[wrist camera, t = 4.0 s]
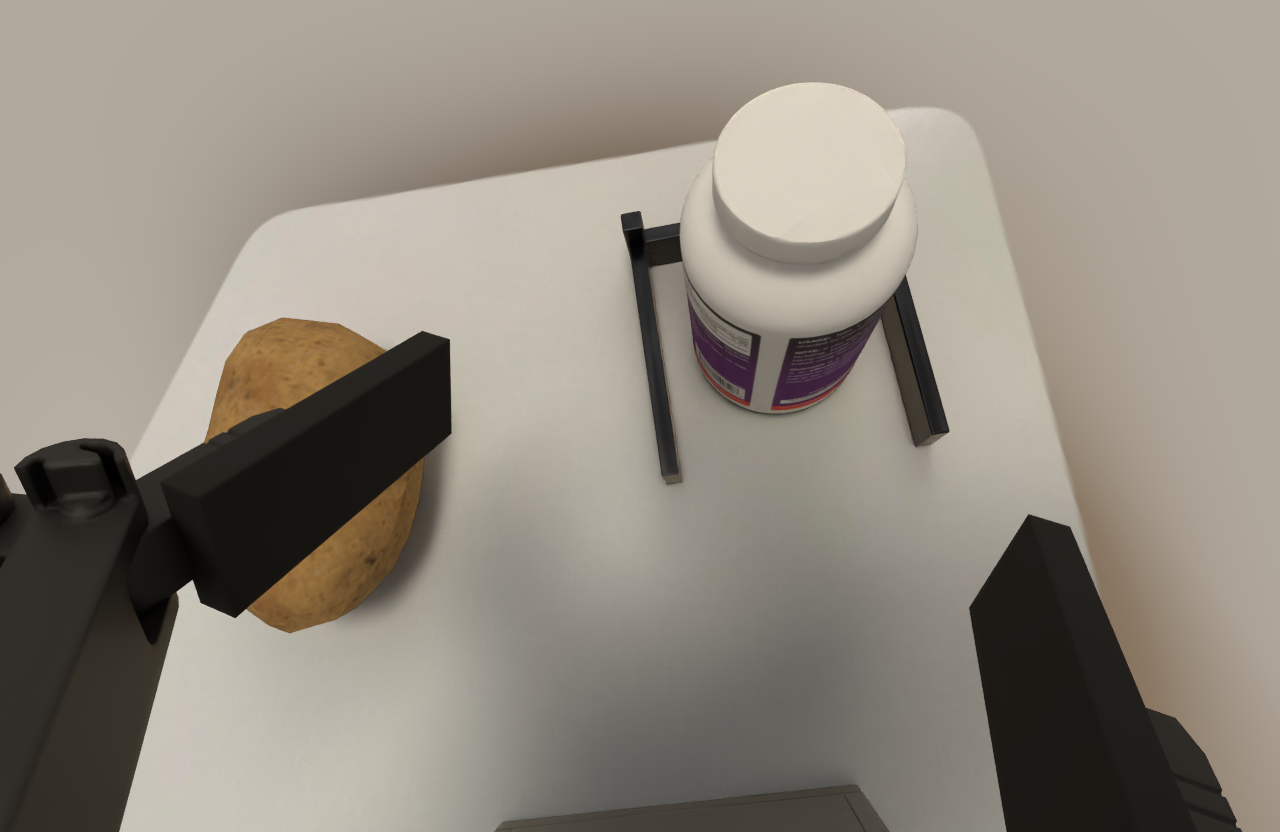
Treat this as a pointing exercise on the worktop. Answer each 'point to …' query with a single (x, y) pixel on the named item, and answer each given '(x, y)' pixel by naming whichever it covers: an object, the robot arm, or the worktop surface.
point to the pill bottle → (795, 243)
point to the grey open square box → (728, 815)
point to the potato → (373, 539)
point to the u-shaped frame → (645, 253)
